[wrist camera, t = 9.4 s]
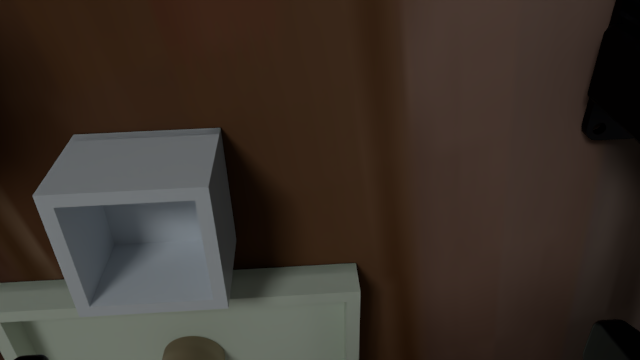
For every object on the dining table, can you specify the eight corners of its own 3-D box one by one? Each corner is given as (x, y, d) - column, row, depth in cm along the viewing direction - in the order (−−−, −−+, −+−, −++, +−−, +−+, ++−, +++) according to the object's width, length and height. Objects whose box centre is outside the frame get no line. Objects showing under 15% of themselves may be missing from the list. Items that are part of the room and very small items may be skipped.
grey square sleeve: (220, 127, 20) (208, 186, 17) (236, 239, 24) (228, 308, 20) (73, 134, 20) (32, 195, 17) (108, 246, 23) (79, 317, 20)
